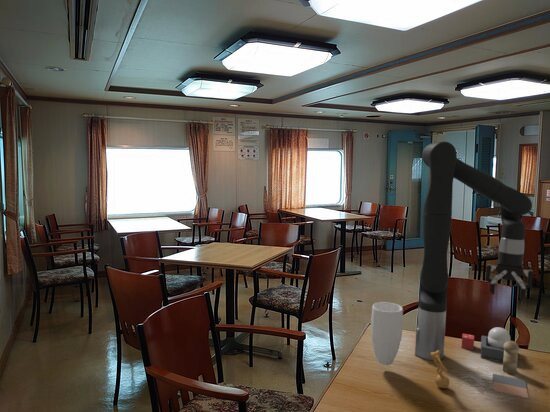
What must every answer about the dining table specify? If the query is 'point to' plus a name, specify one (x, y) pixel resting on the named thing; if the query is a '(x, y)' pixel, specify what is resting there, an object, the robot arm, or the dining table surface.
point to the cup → (386, 331)
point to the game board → (510, 386)
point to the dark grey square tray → (491, 351)
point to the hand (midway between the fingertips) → (506, 296)
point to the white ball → (498, 337)
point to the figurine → (441, 379)
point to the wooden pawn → (510, 357)
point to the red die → (467, 341)
